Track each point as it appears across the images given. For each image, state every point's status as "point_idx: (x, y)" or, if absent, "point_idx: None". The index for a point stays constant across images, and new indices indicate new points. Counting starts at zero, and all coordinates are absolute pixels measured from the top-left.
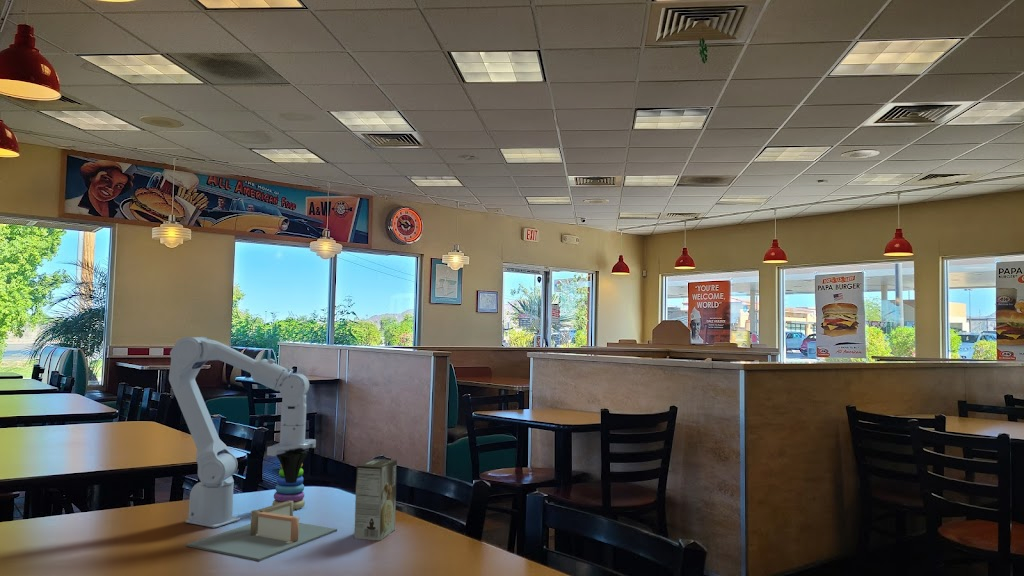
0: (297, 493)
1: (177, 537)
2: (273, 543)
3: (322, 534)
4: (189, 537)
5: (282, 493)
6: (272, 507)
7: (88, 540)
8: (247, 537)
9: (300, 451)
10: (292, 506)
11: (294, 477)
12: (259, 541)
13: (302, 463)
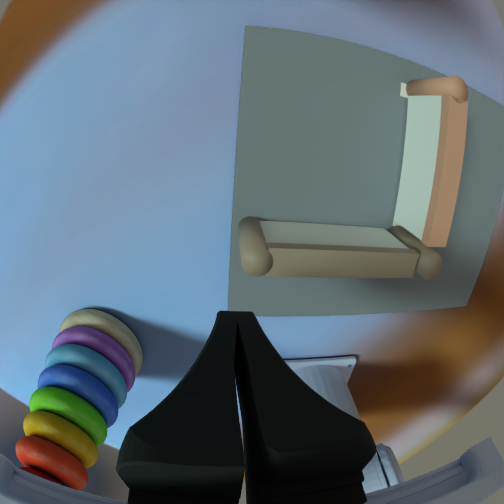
0: (82, 346)
1: (418, 356)
2: None
3: (326, 38)
4: (417, 342)
5: (122, 376)
6: (371, 257)
7: (431, 412)
8: None
9: (176, 492)
10: (255, 239)
11: (248, 326)
12: None
13: (26, 419)
